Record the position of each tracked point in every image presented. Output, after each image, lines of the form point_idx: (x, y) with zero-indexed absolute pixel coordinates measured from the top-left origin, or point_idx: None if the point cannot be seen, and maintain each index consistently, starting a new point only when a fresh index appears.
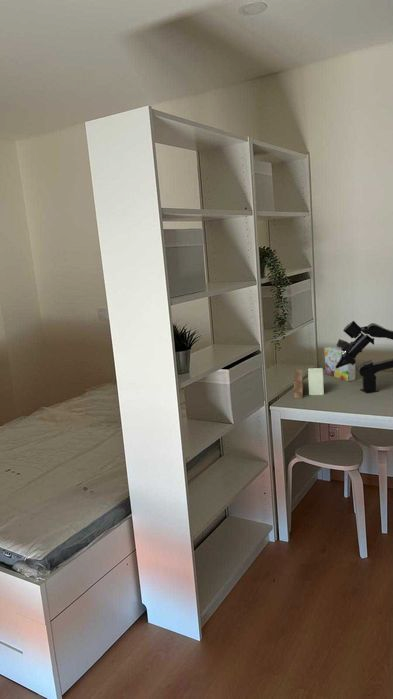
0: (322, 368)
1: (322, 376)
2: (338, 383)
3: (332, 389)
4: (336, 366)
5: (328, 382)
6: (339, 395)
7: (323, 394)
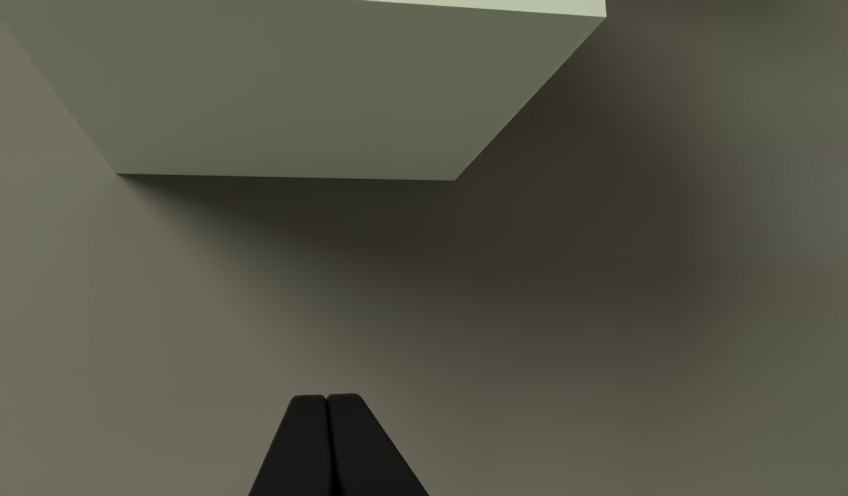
0: (558, 13)
1: (8, 10)
2: (753, 428)
3: (421, 326)
4: (279, 437)
5: (799, 274)
6: (40, 442)
7: (115, 169)
